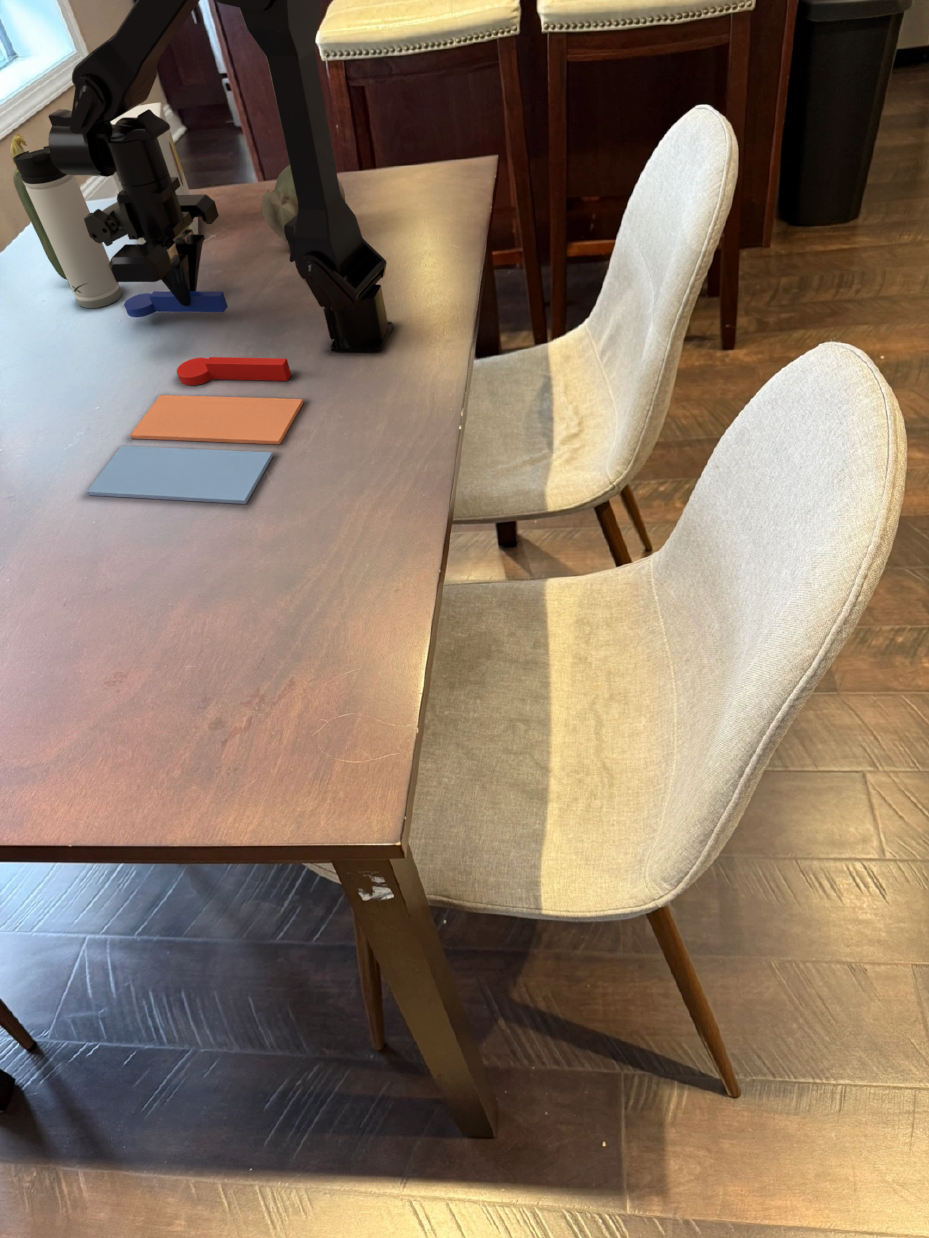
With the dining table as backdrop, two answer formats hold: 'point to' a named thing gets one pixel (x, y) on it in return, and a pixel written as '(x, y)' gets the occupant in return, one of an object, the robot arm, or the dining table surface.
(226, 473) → the blue mat
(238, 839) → the dining table surface
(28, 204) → the vegetable
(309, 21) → the robot arm
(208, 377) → the red spoon
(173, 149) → the supplement box
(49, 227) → the travel mug
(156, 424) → the terracotta mat
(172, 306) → the blue spoon
